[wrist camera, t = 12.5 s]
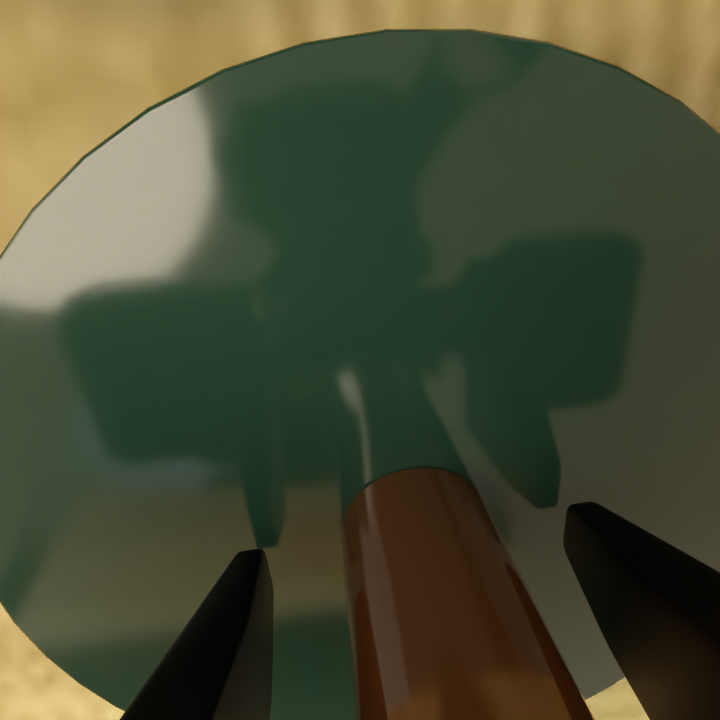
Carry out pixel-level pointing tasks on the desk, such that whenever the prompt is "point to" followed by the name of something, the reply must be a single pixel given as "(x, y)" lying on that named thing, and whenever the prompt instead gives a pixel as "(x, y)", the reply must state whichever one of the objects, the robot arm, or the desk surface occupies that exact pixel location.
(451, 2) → the desk surface
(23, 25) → the desk surface
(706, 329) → the lid
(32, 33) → the desk surface
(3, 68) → the desk surface
